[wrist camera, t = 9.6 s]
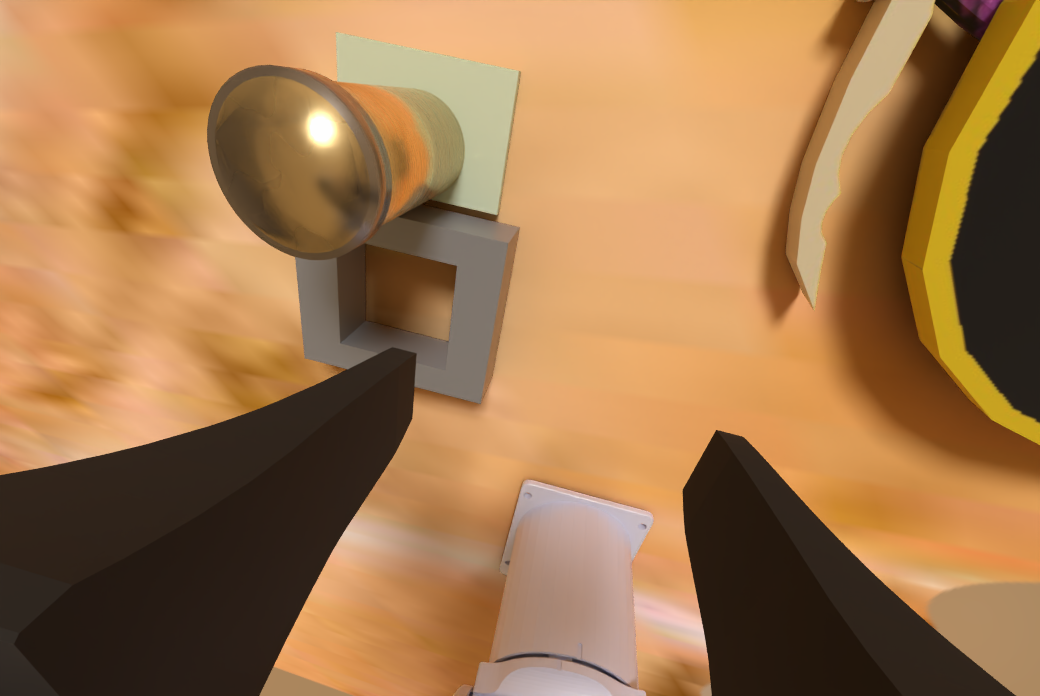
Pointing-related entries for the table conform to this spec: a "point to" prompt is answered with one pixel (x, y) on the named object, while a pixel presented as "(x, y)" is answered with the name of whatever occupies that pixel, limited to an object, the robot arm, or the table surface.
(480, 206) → the mat
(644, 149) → the table surface
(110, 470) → the robot arm
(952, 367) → the wall ornament
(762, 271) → the table surface
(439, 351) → the gray block
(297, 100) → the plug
